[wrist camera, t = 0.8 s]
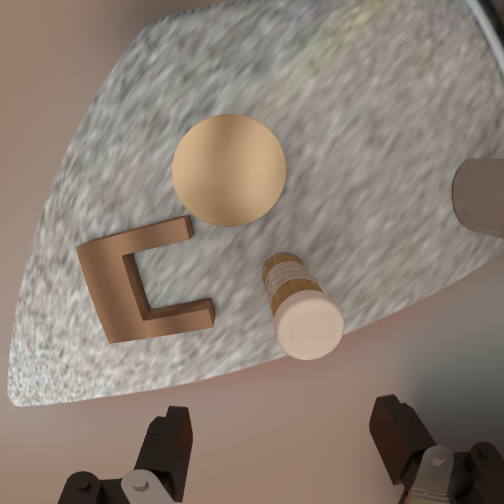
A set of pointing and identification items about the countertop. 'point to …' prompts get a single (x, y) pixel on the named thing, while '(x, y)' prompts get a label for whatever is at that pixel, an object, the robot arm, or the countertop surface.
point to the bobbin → (229, 170)
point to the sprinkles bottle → (301, 309)
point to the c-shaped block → (137, 284)
